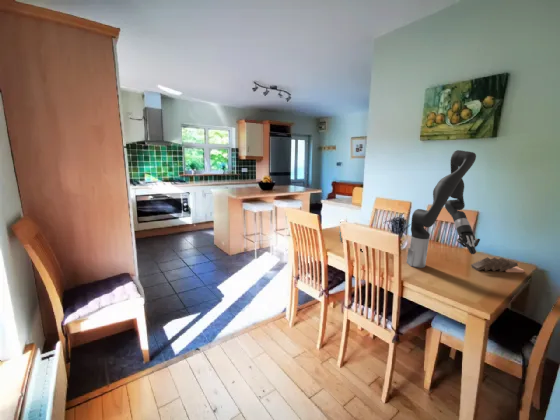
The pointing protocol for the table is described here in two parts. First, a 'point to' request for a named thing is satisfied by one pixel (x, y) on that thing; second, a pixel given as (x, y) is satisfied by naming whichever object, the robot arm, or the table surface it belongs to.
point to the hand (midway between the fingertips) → (473, 253)
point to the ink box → (343, 220)
